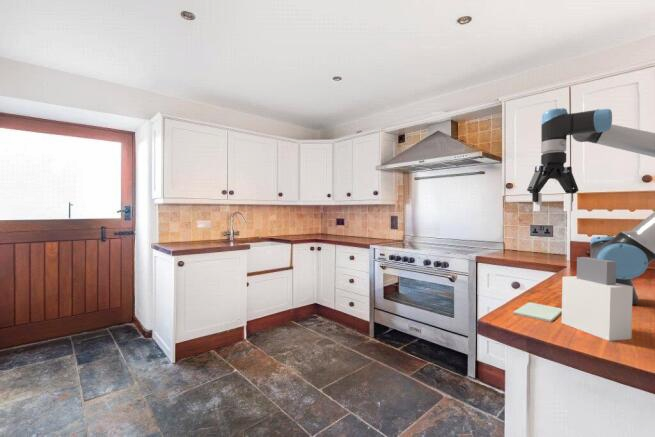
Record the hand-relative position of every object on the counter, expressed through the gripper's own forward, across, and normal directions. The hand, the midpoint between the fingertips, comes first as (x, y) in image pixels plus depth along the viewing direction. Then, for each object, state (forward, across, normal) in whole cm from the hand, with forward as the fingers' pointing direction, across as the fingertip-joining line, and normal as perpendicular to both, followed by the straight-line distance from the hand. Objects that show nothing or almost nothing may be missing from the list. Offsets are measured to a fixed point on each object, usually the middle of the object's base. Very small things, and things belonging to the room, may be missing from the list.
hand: (552, 211), depth 116 cm
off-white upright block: (+33, -16, -27) cm, 45 cm away
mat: (+33, -17, -11) cm, 39 cm away
